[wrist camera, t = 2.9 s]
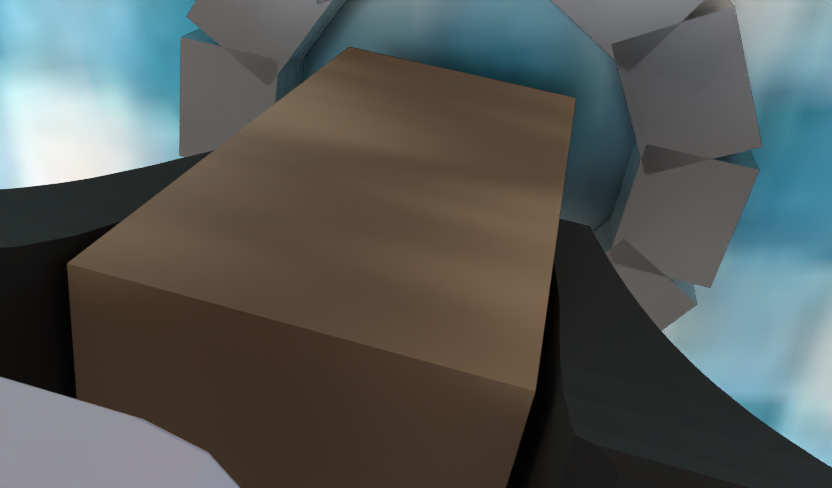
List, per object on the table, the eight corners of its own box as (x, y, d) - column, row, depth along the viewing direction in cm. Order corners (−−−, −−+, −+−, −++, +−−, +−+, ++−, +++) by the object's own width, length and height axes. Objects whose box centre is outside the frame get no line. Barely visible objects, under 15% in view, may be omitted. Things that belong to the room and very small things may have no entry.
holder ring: (840, -95, 13) (866, -88, 11) (640, 405, 18) (643, 449, 17) (222, -212, 14) (183, -217, 13) (206, 289, 19) (177, 320, 18)
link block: (576, 98, 13) (535, 391, 6) (522, 294, 15) (444, 688, 8) (349, 46, 13) (66, 263, 6) (325, 244, 15) (89, 574, 8)
